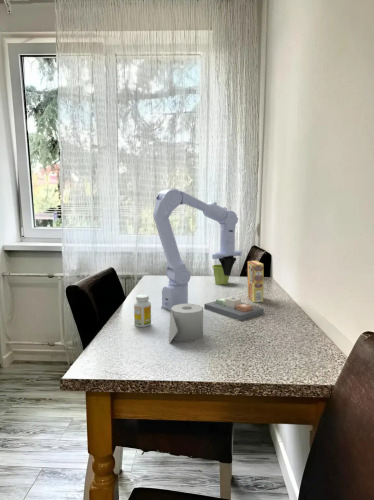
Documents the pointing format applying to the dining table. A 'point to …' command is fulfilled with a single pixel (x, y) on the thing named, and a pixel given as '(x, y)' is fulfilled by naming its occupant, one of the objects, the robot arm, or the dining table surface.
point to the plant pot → (220, 275)
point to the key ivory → (233, 302)
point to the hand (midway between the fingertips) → (227, 275)
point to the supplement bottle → (142, 311)
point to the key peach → (244, 307)
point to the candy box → (255, 281)
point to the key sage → (221, 301)
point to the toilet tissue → (186, 323)
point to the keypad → (233, 311)
